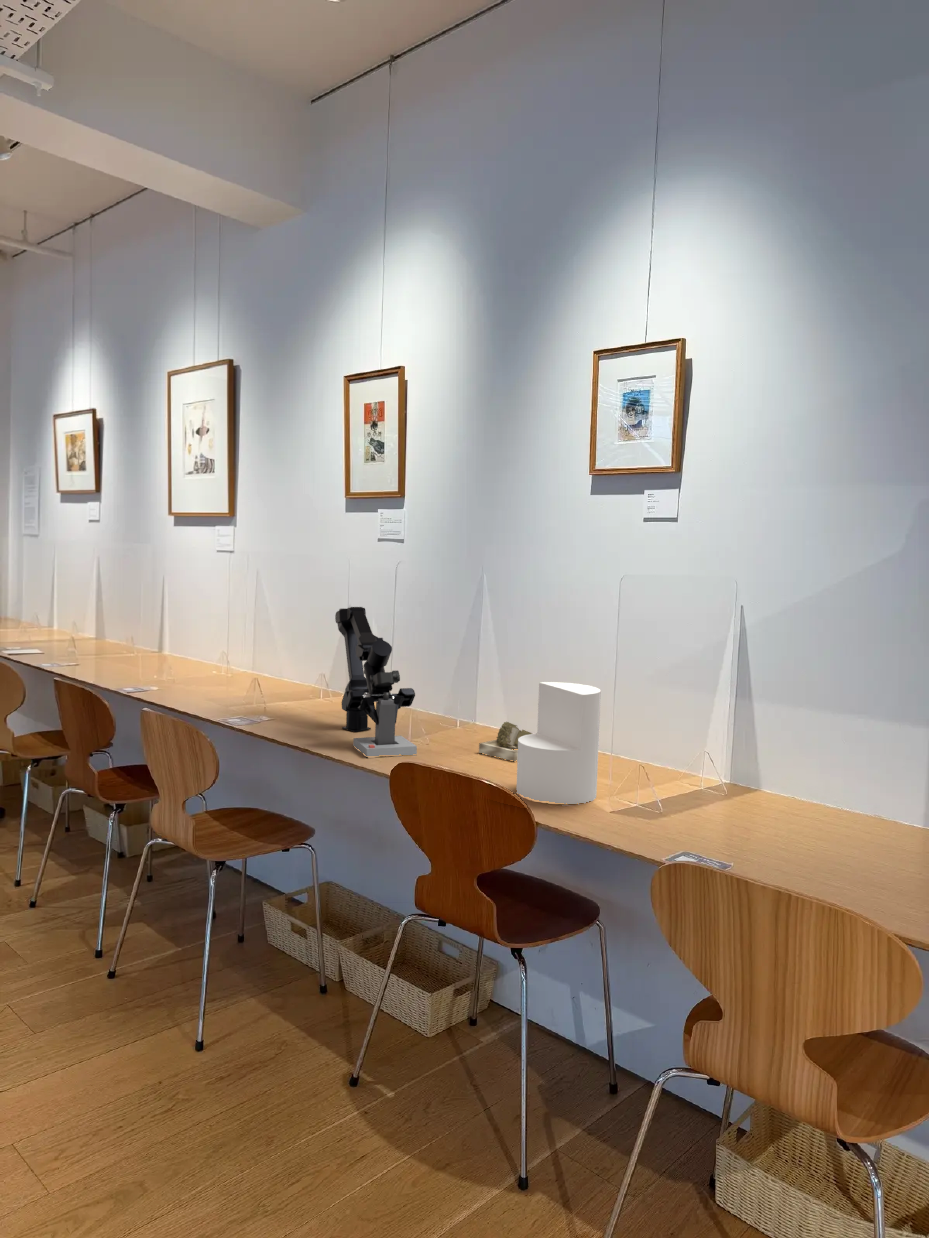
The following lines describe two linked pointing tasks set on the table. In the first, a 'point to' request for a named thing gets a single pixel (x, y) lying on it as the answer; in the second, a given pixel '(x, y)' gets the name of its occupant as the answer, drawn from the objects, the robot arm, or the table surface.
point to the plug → (385, 721)
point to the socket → (385, 747)
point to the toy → (510, 735)
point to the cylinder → (562, 745)
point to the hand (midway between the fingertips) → (386, 723)
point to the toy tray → (498, 750)
